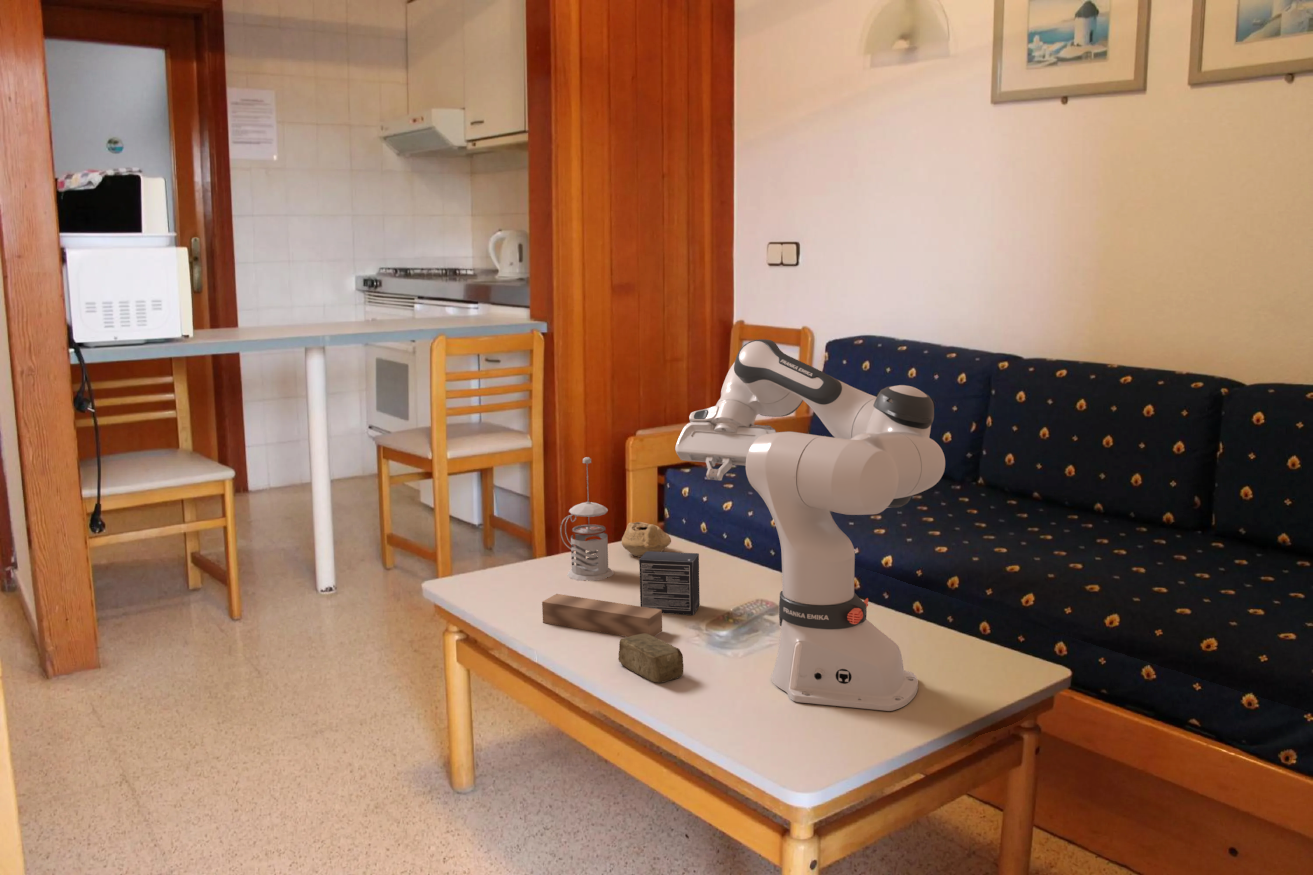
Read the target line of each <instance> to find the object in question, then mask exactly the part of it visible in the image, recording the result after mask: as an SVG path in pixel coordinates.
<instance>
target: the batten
mask: <svg viewBox="0 0 1313 875" xmlns="http://www.w3.org/2000/svg"><path fill="white" fill-rule="evenodd" d="M541 603H542V604H541V605H542V606H541V607H542V609H541V610H542V623H543V624H549V625H555V626H561V627H568V628H573V629H578V630H585V631H592V632H597V633H604V634H608V635H609V634H610V635H616V636H622V637H625V638H626V637H630V636H634V635H638V634H644V633H645V634H650V635H651V636H654V637H656V636H658V635H659V634H661V633H662V632H663V613H662V610H660V609H654V608H647V607H641V605H640V606H639V605H635V604H634V605H633V604H626V603H622V602H621V603H619V602H613V601H606V600H600V599H593V598H588V597H587V598H586V597H580V596H573V595H567V594H561V593H560V594H559V593H556V594H554V595H552V596H550V597H548V598H546V599H545V600H542V602H541Z"/></svg>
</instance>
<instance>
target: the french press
mask: <svg viewBox="0 0 1313 875" xmlns="http://www.w3.org/2000/svg"><path fill="white" fill-rule="evenodd" d="M582 464H586V485H587V487H586V489H587V501H585V502H581V503H578V504H575V505H573V506H572V507H570V509H569V510H568V513H570V515H569V514H568V515H567V516H565V517H564V518H563V519H562V521H561V523H560V527H559V531H560V537H561V540H562V543H563V544H564V545H565V546H566V547H567V548H568V549H569V550H571V551H570V553H571V568H570V569H569V571H568V572H567V573H568V574H567V577H568V576H569V577H568V578H570V579H572V580H576V581H583V580H588V581H587V582H589V581H590V580H593V581H601V580H605V579H607V577H608V578H610V577H612V576H613V575H614V570H612V569H611V568H610V567H609V547H608V546H609V542H608V541H609V540H608V534H607V533H606V530H607V528H606V526H604V525H602V524H601V525H600V524H590V518H594V517H600V516H603V515H606V514H607V513H608V511H609V509H608V508H607V507H606V506H604V505H602V504H599V503H597V502H592V501H591V502H590V501H589V500H590V498H589V497H590V496H589V471H588V470H589V468H588V467H589V464H592V458H590V457H589V456H586V457H584V458H582ZM572 516H574V519H573V517H572ZM577 517H583V518H587V517H588V518H587V521H588V524H580V525H576V526H574V527H573V528H572V529H571V532H572V533H574V534H572V535H570V539H569V538H568V537H569V536H568V534H567V533H568V532H567V523H568V520H569V519H570V522H571V523H574V522H575V521H576V520H577ZM565 520H566V521H565ZM564 521H565V523H564ZM563 524H564V533H565V536H566V539H567V542H568V543H569V544H570V546H569V545H568V544H567V543H566V542H565V541H564V537H563V532H562V527H563ZM591 537H598V538H600V539H597V538H593V539H588V538H591ZM586 539H588V540H586ZM590 582H591V581H590Z"/></svg>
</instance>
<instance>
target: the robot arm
mask: <svg viewBox="0 0 1313 875" xmlns="http://www.w3.org/2000/svg"><path fill="white" fill-rule="evenodd" d="M724 378H725V379H724V381H723V384H722V387H721V391H720V398H719V399H718V401H717V402H716V404H715V405H714V406H710V407H708V408H704V409H699V410H695V411H692V412H690V414H689V416H688V417H689V422H688V423H687V424H685V425H684V426H683V428H682V430H681V432H680V434H679V436H678V438H677V441H676V444H675V447H674V450H675V453H676V455H677V456H678V458H679V459H680V461H687V462H698V463H705V464H706V468H707V471H706V474H705V476H706V479H707V480H709V481H712V480H713V481H723V477H724V475H725V474H726V473H727V472H729V471H730V470H731V469H732V467H733V465H735V466H744V467H745V473H746V477H747V480H748V482H749V484H750V486H751V487H752V488H753V489H754V490H755V492H757V493H758V495H759V496H760V497H761V498H762V500H763V501H764V503H765V505H766V507H767V508H768V510H769V512H770V515H771V517H772V520H773V522H774V525H775V528H776V531H777V535H778V538H779V539H778V540H779V543H780V549H781V552H780V554H781V572H782V573H781V575H782V576H781V578H782V579H781V580H782V587H781V588H782V590H781V591H780V592H779V599H778V600H779V601H778V618H779V620H778V621H779V626H780V636H779V644H778V650H777V655H776V659H775V664H774V667H773V670H772V673H771V681H772V682H773V684H774V685H775V686H776V687H778V688H779V689H780V690H782V691H784V692H786V693H787V694H788V697H789V698H790V700H792V701H793V702H796V703H805V704H814V705H822V706H823V705H825V706H833V707H836V706H837V707H845V708H855V709H865V710H875V711H885V712H886V711H887V712H890V711H891V712H892V711H895V710H898V709H901V708H903V707H905V706H907V705H908V704H909V703H910V702H912V701H913V700H914V698H915V696H916V695H917V692H918V690H919V680H918V677H917V675H916V674H915V673H914V672H912V671H909V670H905V669H904V663H903V656H902V652H901V649H900V647H899V646H898V645H899V644H897V643H896V642H895V641H894V640H893V639H891V638H890V637H889V636H888V635H886V634H885V633H884V632H882V631H881V630H880V629H879V628H878V627H877V626H876V625H874V624H873V623H871V622H870V621H869V620H868V619H867V614H868V613H867V612H868V611H867V608H868V606H869V598H868V597H867V598H865V599H864V600H862V599H861V598H860V596H858V595H857V594H856V593H855V566H856V565H855V561H856V560H855V559H856V555H855V554H856V552H855V548H854V545H853V543H852V542H853V541H851V540H850V538H849V537H848V536H847V534H845V533H844V532H843V531H842V530H841V528H840V527H839V526H838V525H837V524H836V522H835V520H834V518H833V516H832V514H831V512H832V513H833V512H834V513H837V514H843V515H846V516H847V515H849V516H850V515H851V516H855V515H857V516H862V515H863V516H865V515H866V516H867V515H877V514H878V515H879V514H880V513H883V512H884V511H885V510H886V509H888V508H901V507H903V506H905V505H907V504H908V503H909V502H910V500H911V499H912V497H913V496H914V495H917V494H920V493H922V492H924V491H927V490H929V489H931V488H933V487H934V486H935V485H937V483H939V482H940V480H941V479H942V477H943V475H944V473H945V468H946V458H945V454H944V452H943V449H942V447H941V446H940V445H939V444H938V443H937V442H936V441H935V440H934V439H932V438H930V434H931V430H932V429H931V428H932V425H933V422H934V419H935V406H934V402H933V400H932V398H931V397H930V395H929V394H928V393H925V392H924V391H922V390H920V389H918V388H916V387H914V386H910V385H905V384H899V385H888V386H886V387H884V388H882V389H880V391H879V392H878V394H877V396H875V395H872V394H871V393H870V394H869V393H867V392H865V391H863V390H860V389H858V388H856V387H853V386H851V385H849V384H847V383H845V382H843V381H841V380H839V379H837V378H836V377H833V376H831V375H829V374H827V373H825V372H823V371H821V370H819V369H818V368H816V367H813V366H811V365H809V364H808V363H805V362H803V361H801V360H799V359H796V358H794V357H792V356H790V355H788V354H786V353H784V352H783V351H782V350H781V349H780V348H779V346H778V345H777V343H776V341H773V340H771V339H765V338H763V339H762V338H760V339H759V338H758V339H754V340H751V341H749V342H746V343H745V344H744V345H742V346H741V348H740V349H739V351H738V352H737V354H736V357H735V359H734V362H733V364H732V365H731V366H730V368H729V369H728V372H727V373H726V376H725V377H724ZM803 402H804V403H806V404H807V405H808V406H809V407H810V408H811V410H812V411H813V412H814V413H815V415H816V416H817V417H818V418H819V420H820V421H821V422H822V424H823V425H824V427H825V428H826V429H827V430H828V432H829V433H830V434H831V435H832V436H825V435H817V434H811V433H805V432H804V433H803V432H797V431H780V432H779V431H776V429H775V428H774V427H772V425H768V424H767V425H766V424H765V425H762V424H755V421H756V418H757V416H758V415H759V416H762V417H772V418H773V417H775V418H777V417H778V418H780V417H781V418H782V417H786V416H789V415H792V414H793V413H795V412H796V411H797V410H798V409H799V408H800V406H801V405H802V403H803ZM716 464H720V465H721V466H720V467H719V468H714V467H715V466H716Z"/></svg>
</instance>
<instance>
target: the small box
mask: <svg viewBox="0 0 1313 875" xmlns="http://www.w3.org/2000/svg"><path fill="white" fill-rule="evenodd" d="M638 563H639V594H640V596H639V598H640V600H639V601H640V603H639V604H640V606H641V607H647V608H654V609H660V610H662V614H664V615H665V614H667V615H681V616H682V615H685V616H694V615H695V614H696V612H697V610H698V608H700V600H701V599H700V596H701V595H700V553H699V552H697V553H696V552H694V553H693V552H678V551H677V552H672V551H671V552H670V551H661V552H653V551H647V552H645V553H644V555H643V556H642V557H640V558H639V559H638Z"/></svg>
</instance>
